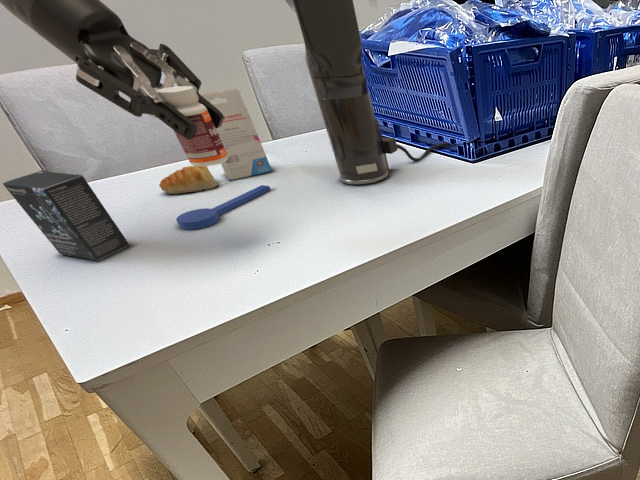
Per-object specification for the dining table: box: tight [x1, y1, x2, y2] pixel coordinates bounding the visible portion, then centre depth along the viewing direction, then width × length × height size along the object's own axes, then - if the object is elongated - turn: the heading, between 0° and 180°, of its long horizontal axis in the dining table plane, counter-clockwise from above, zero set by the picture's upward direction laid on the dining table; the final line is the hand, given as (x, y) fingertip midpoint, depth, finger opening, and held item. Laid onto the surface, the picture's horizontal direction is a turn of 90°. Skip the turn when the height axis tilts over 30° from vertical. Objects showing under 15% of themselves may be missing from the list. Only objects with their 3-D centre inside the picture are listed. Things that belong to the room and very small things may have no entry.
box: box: [2, 169, 130, 262], centre depth 65 cm, size 8×6×11 cm
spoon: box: [175, 184, 271, 231], centre depth 80 cm, size 19×6×1 cm, turn 162°
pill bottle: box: [156, 85, 228, 167], centre depth 58 cm, size 5×5×8 cm
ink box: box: [199, 88, 273, 181], centre depth 89 cm, size 8×5×15 cm, turn 127°
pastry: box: [158, 165, 218, 195], centre depth 87 cm, size 9×7×4 cm
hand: (207, 127), depth 58 cm, fingers closed on pill bottle, 4 cm apart
